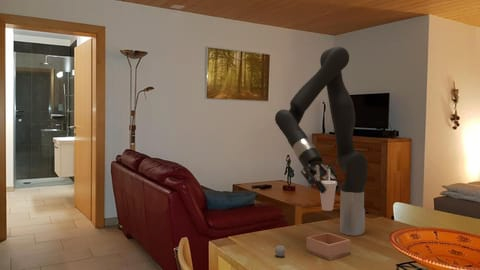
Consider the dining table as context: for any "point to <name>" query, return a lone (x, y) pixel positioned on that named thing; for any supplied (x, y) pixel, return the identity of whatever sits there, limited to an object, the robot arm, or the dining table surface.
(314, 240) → the pink square tray
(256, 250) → the dining table surface
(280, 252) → the ball
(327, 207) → the smoothie
